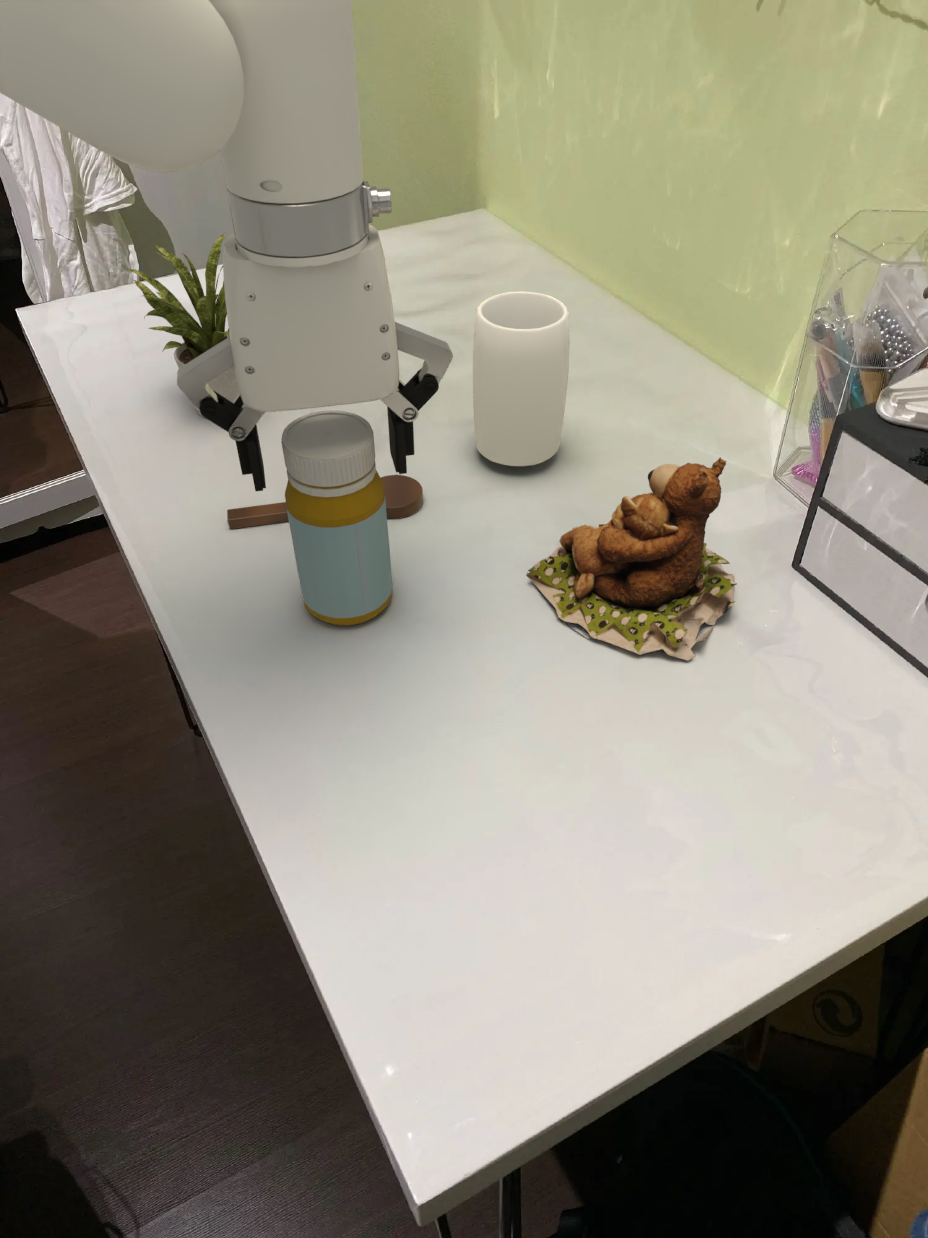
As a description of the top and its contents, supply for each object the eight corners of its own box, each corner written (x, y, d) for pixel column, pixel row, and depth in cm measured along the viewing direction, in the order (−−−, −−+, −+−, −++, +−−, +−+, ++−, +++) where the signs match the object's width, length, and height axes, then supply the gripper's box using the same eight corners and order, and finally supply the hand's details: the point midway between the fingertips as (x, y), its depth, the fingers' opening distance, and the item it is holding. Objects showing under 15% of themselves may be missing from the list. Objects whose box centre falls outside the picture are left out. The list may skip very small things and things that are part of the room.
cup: (509, 420, 90) (513, 280, 81) (579, 450, 86) (592, 306, 77) (454, 457, 86) (451, 313, 76) (525, 490, 82) (532, 343, 72)
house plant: (283, 358, 100) (259, 204, 89) (319, 418, 91) (297, 255, 80) (152, 385, 96) (109, 227, 85) (176, 450, 87) (131, 283, 76)
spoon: (230, 541, 77) (227, 530, 76) (228, 507, 80) (226, 496, 79) (427, 514, 79) (427, 503, 78) (417, 482, 83) (417, 471, 82)
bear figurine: (597, 515, 79) (611, 388, 71) (758, 583, 72) (796, 452, 64) (505, 598, 71) (510, 467, 63) (677, 684, 64) (707, 550, 56)
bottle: (410, 606, 71) (398, 440, 60) (330, 643, 68) (304, 475, 57) (365, 559, 75) (347, 396, 64) (288, 592, 72) (257, 427, 62)
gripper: (437, 184, 55) (441, 429, 67) (144, 204, 53) (202, 456, 64) (463, 228, 50) (463, 487, 62) (138, 253, 47) (202, 519, 59)
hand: (329, 471), depth 63 cm, fingers open, 9 cm apart
